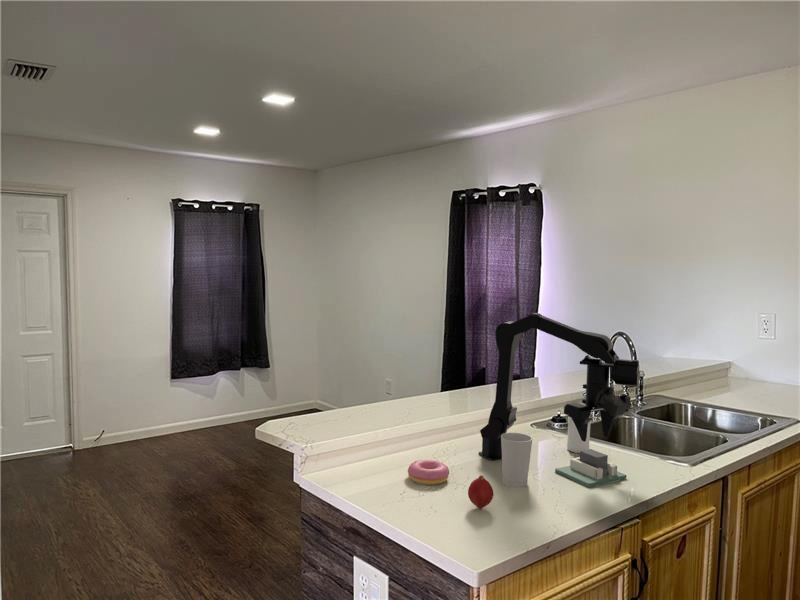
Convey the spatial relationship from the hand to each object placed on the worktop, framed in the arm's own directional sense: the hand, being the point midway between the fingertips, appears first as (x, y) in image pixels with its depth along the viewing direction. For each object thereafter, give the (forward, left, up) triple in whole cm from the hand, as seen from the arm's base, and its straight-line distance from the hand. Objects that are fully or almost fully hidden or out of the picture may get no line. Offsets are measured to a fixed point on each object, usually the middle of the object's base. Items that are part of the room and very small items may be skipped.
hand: (595, 439), depth 160 cm
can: (+12, +17, -10) cm, 23 cm away
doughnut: (-42, +17, -10) cm, 46 cm away
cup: (-23, +5, -10) cm, 26 cm away
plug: (0, 0, -9) cm, 9 cm away
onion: (-41, -4, -10) cm, 42 cm away
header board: (-1, 0, -10) cm, 10 cm away
